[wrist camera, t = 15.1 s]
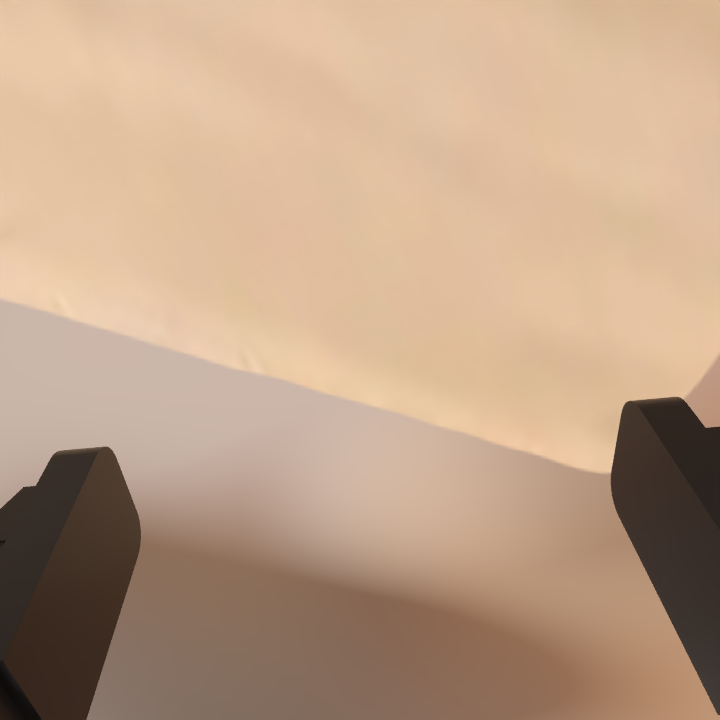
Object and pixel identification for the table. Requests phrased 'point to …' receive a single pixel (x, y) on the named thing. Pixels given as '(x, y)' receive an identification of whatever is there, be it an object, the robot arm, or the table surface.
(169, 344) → the table surface
